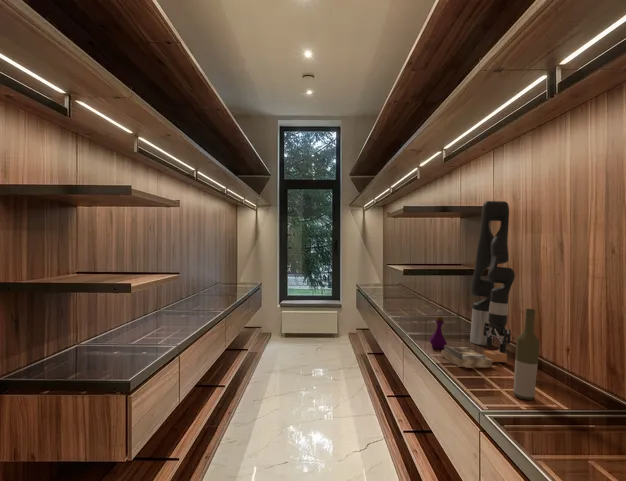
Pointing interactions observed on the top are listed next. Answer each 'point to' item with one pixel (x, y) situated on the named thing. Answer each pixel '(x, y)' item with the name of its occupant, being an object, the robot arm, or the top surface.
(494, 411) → the top surface
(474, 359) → the dock
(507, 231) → the robot arm
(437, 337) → the perfume bottle
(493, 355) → the orange box with handle
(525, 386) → the bottle
